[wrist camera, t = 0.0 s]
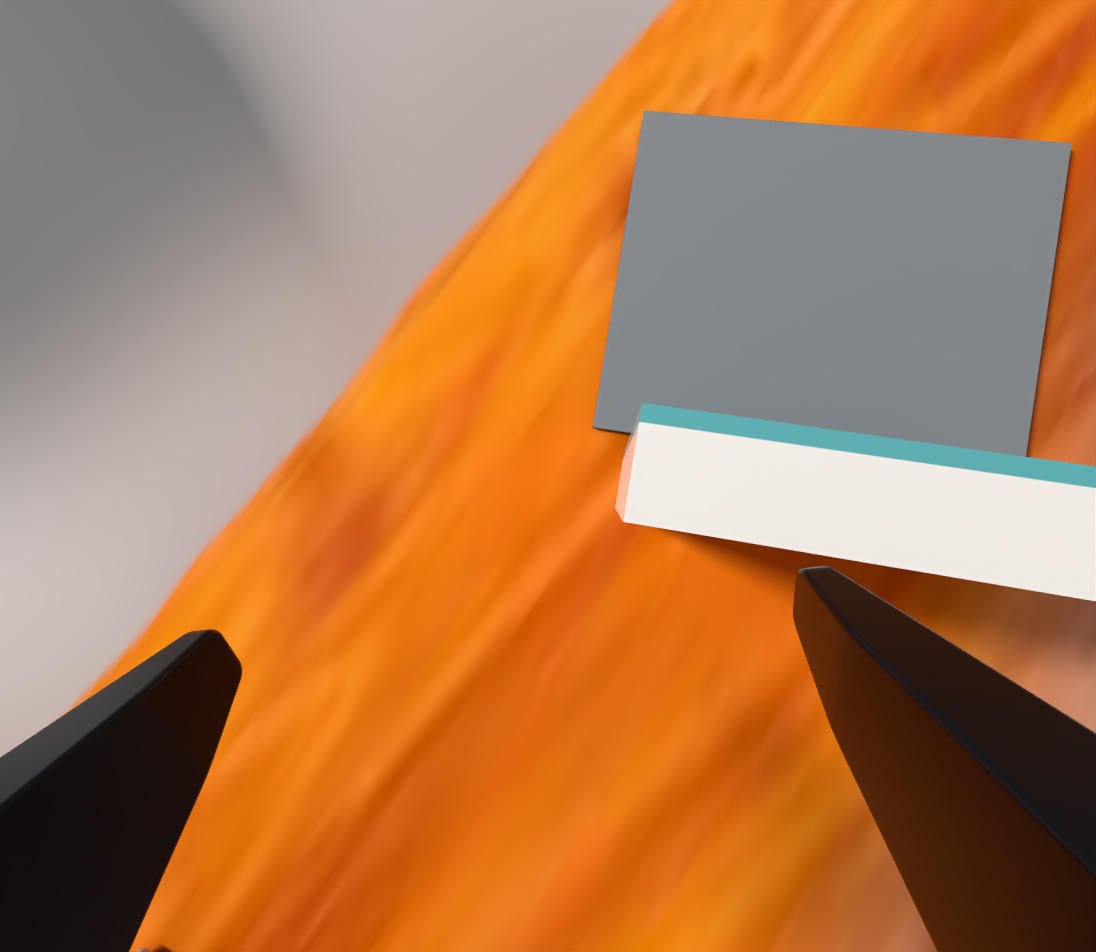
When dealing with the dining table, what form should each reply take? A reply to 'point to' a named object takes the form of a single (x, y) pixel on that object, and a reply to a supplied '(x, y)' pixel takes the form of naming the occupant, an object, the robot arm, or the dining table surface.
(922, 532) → the tile
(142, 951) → the cake pan box
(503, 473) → the dining table surface
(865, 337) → the slate mat
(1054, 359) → the dining table surface
